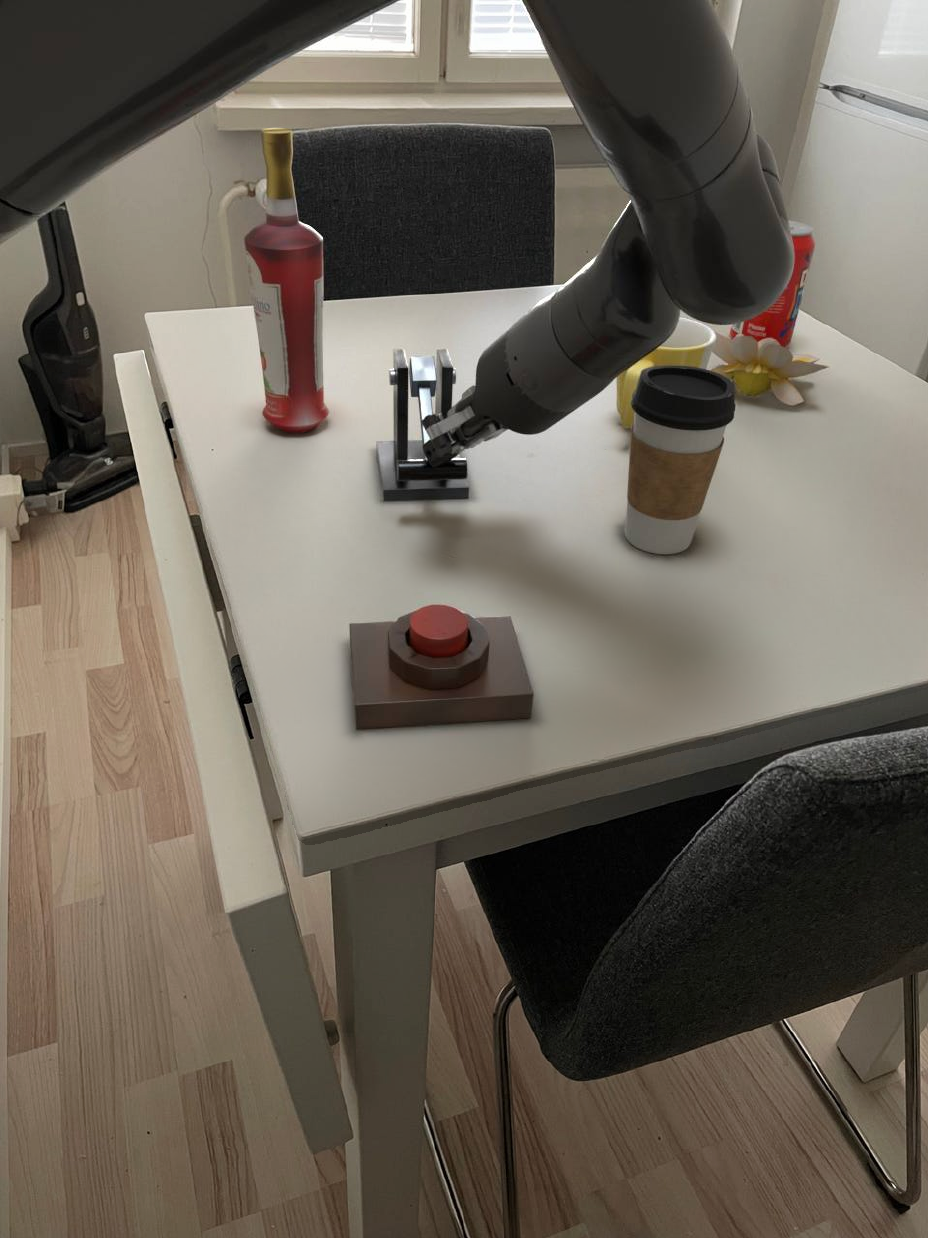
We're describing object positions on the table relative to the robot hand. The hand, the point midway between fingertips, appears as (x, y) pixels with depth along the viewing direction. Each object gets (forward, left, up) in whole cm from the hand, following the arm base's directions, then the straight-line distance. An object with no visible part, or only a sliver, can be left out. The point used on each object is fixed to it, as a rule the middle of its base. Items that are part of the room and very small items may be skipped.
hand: (432, 455), depth 82 cm
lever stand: (0, +9, -7) cm, 11 cm away
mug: (+25, +18, -7) cm, 31 cm away
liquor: (-12, +21, -7) cm, 25 cm away
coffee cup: (+20, -4, -7) cm, 21 cm away
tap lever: (0, +5, 0) cm, 5 cm away
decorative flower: (+42, +27, -7) cm, 50 cm away
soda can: (+48, +42, -7) cm, 64 cm away
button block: (-2, -22, -6) cm, 23 cm away
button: (-2, -22, -3) cm, 22 cm away
